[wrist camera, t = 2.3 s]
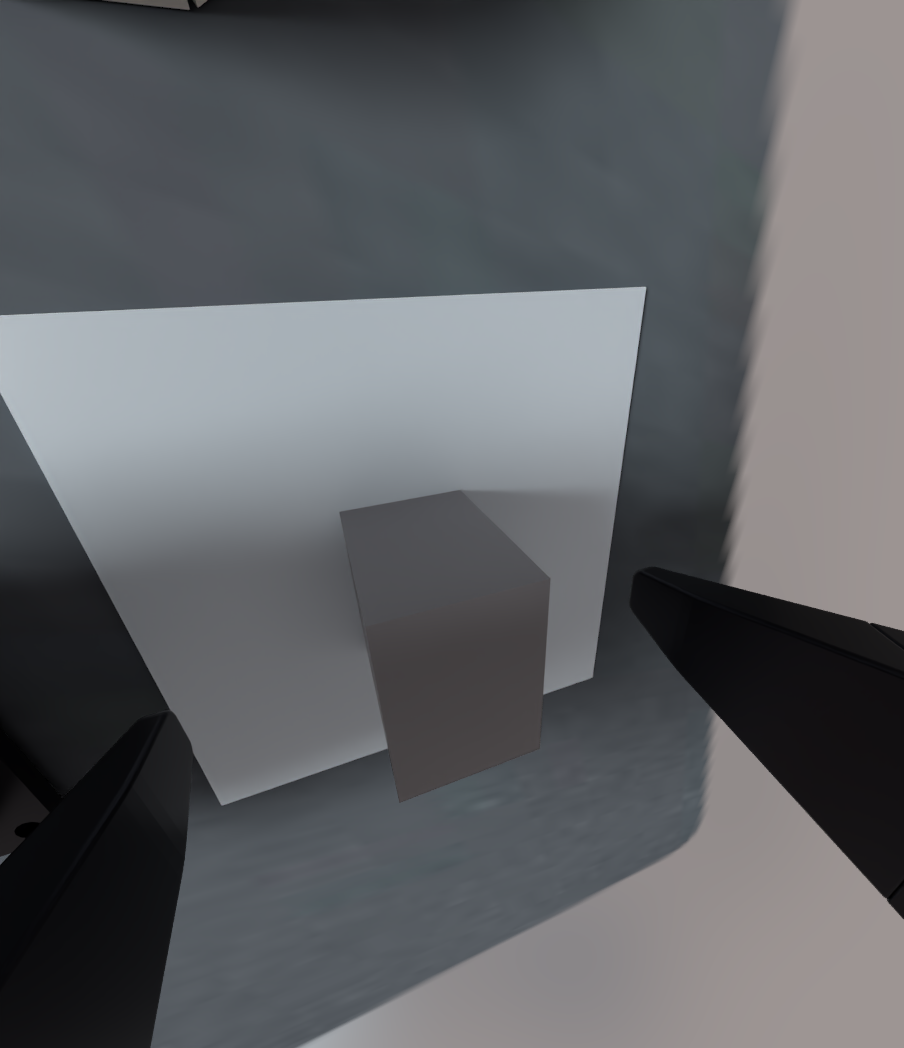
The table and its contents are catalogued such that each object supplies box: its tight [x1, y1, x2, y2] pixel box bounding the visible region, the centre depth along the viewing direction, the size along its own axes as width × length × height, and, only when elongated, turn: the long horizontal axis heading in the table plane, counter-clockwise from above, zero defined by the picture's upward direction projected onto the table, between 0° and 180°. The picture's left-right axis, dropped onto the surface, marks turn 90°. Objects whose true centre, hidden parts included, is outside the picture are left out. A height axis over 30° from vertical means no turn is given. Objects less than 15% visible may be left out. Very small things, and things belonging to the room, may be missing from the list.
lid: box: [0, 287, 646, 806], centre depth 9 cm, size 12×12×5 cm
